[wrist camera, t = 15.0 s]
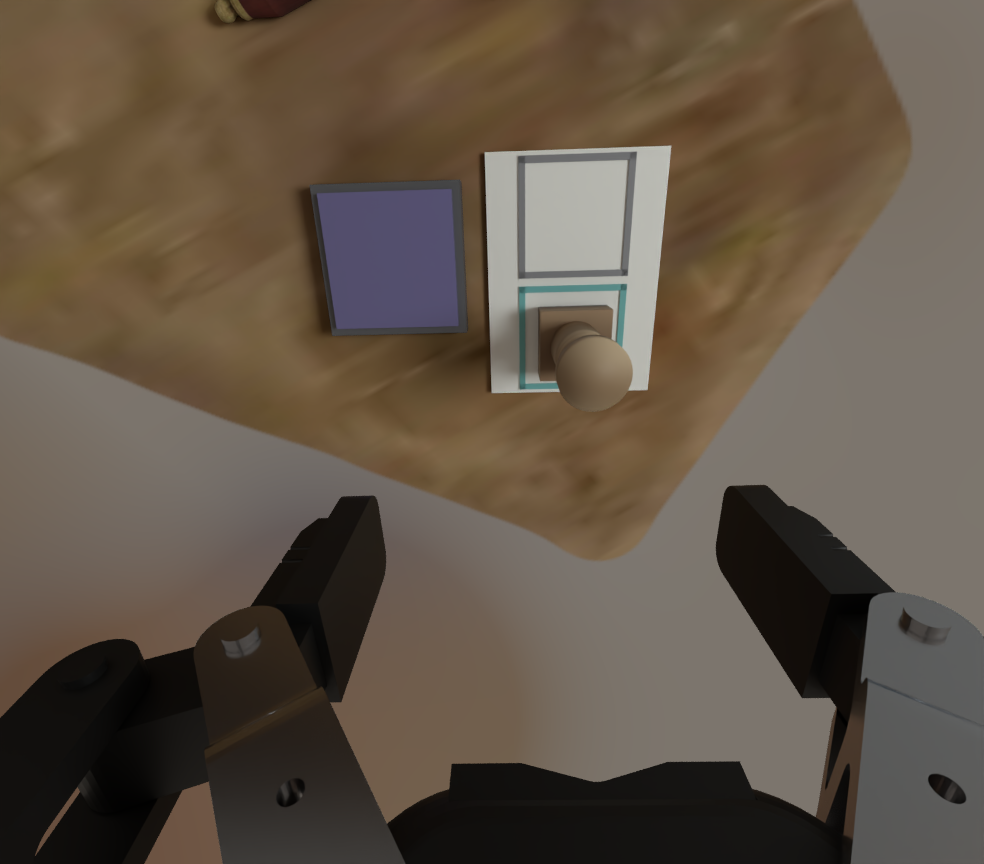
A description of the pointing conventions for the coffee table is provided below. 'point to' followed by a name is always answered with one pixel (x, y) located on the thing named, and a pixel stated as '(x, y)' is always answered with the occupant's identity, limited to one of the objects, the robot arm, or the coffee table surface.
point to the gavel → (255, 8)
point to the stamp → (582, 355)
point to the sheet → (572, 249)
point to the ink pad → (392, 256)
